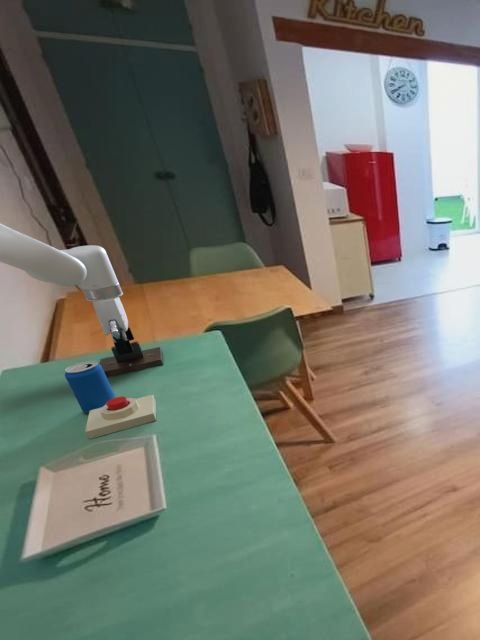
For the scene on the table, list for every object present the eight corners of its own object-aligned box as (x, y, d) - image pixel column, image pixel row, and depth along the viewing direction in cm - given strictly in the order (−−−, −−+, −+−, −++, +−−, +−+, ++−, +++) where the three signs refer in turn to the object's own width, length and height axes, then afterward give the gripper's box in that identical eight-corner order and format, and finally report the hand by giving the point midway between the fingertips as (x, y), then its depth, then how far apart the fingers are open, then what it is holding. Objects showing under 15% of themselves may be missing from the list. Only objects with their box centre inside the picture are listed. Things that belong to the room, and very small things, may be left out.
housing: (89, 439, 94) (81, 425, 92) (93, 417, 101) (86, 404, 100) (156, 420, 101) (150, 406, 99) (155, 401, 108) (150, 388, 106)
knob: (117, 362, 121) (110, 348, 119) (117, 360, 122) (111, 345, 120) (143, 357, 124) (138, 342, 122) (143, 355, 126) (138, 340, 123)
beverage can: (122, 405, 106) (104, 364, 101) (89, 418, 101) (68, 375, 96) (111, 397, 109) (93, 357, 104) (79, 410, 104) (57, 368, 99)
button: (108, 413, 97) (105, 406, 96) (109, 405, 100) (106, 399, 99) (128, 407, 99) (125, 401, 99) (129, 400, 102) (126, 394, 101)
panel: (100, 379, 117) (97, 372, 116) (103, 364, 124) (100, 358, 123) (163, 365, 125) (160, 358, 124) (162, 352, 132) (160, 346, 131)
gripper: (87, 285, 118) (111, 339, 126) (81, 304, 106) (108, 362, 114) (122, 280, 122) (143, 333, 130) (119, 298, 110) (143, 354, 118)
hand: (127, 346), depth 122 cm, fingers open, 9 cm apart
